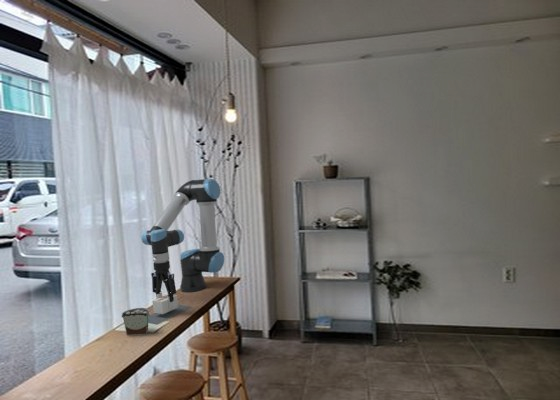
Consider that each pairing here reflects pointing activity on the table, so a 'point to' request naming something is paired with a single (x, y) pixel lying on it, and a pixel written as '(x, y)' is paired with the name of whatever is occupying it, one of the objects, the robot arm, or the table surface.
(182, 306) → the mat
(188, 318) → the table surface
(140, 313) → the food container
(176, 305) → the white rectangular block
